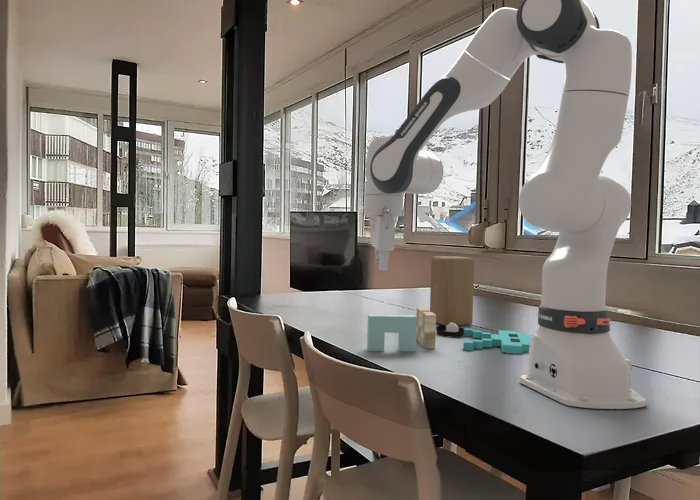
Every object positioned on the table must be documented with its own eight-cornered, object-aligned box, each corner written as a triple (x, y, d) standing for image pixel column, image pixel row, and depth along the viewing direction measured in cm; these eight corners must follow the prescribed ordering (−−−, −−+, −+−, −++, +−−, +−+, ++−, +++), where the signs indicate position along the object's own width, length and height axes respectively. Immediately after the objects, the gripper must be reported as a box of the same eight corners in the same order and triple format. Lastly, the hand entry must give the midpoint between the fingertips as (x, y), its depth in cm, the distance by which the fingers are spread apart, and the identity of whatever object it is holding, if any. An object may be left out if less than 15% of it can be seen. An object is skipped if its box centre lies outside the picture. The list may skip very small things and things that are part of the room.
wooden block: (428, 320, 176) (430, 256, 176) (457, 320, 179) (459, 256, 179) (443, 326, 167) (445, 257, 166) (473, 325, 170) (475, 258, 169)
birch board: (435, 348, 135) (436, 314, 135) (425, 348, 135) (425, 314, 135) (424, 338, 147) (425, 307, 147) (415, 338, 147) (416, 307, 147)
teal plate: (415, 351, 132) (416, 316, 131) (368, 351, 131) (368, 316, 131) (413, 349, 134) (414, 315, 134) (367, 348, 133) (367, 314, 133)
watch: (466, 336, 153) (467, 323, 153) (460, 339, 149) (460, 325, 149) (440, 333, 157) (440, 320, 157) (432, 335, 153) (433, 322, 153)
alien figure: (463, 351, 135) (552, 357, 131) (463, 342, 135) (552, 348, 131) (464, 336, 154) (541, 341, 150) (464, 328, 154) (542, 332, 150)
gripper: (402, 208, 121) (400, 273, 122) (392, 209, 142) (390, 265, 142) (373, 207, 121) (370, 272, 122) (367, 208, 141) (364, 264, 142)
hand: (381, 268), depth 132 cm, fingers open, 8 cm apart
